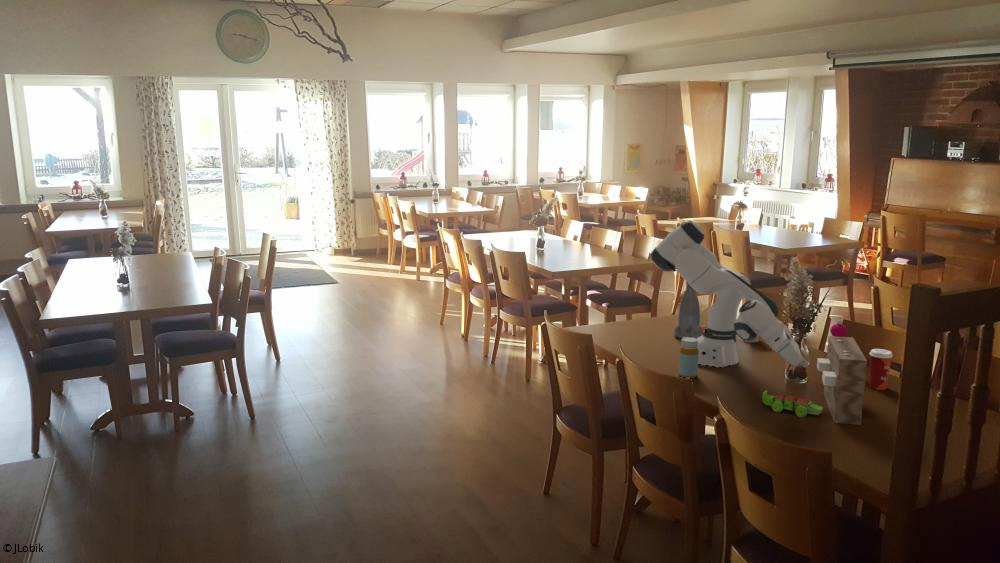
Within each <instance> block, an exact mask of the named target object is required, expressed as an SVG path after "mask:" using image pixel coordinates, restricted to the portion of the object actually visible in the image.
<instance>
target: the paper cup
mask: <svg viewBox="0 0 1000 563" xmlns="http://www.w3.org/2000/svg"><path fill="white" fill-rule="evenodd" d="M893 356H894V355H893V352H892V351H891V350H888V349H884V348H883V349H882V348H873V349H871V350H870V352H869V380H868V381H869V386H868V387H869V388H870V389H873V390H876V391H885V390H887V386H888V382H889V375H890V369H891V363H892V358H893Z"/></svg>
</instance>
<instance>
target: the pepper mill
mask: <svg viewBox="0 0 1000 563" xmlns="http://www.w3.org/2000/svg"><path fill="white" fill-rule="evenodd" d="M829 331H830V334H831V336H836V337H846V335H847V334H848V328H847V327H846V326H845V325H844V324H843V323H842V320H837V321H836V324H833V325H832V326H831V327H830V330H829ZM825 359H827V356H825Z"/></svg>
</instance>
